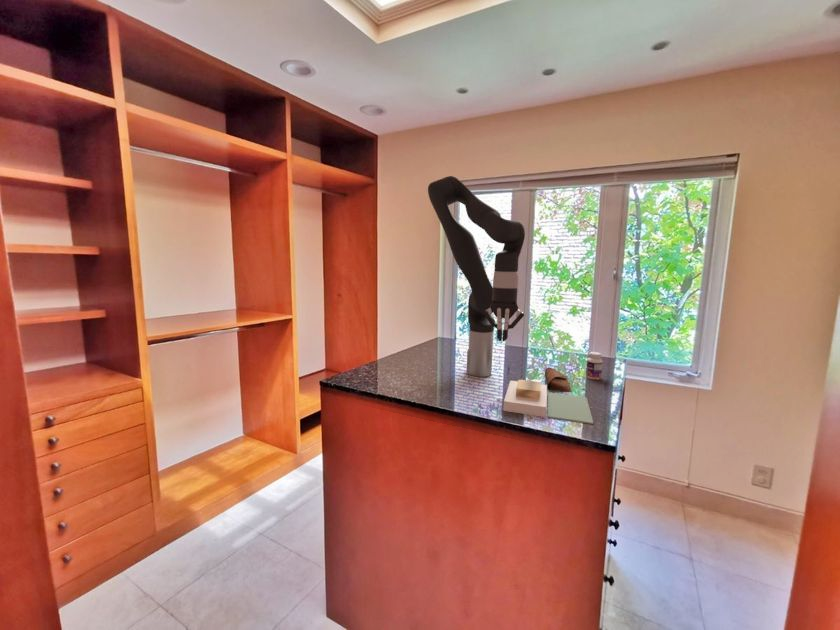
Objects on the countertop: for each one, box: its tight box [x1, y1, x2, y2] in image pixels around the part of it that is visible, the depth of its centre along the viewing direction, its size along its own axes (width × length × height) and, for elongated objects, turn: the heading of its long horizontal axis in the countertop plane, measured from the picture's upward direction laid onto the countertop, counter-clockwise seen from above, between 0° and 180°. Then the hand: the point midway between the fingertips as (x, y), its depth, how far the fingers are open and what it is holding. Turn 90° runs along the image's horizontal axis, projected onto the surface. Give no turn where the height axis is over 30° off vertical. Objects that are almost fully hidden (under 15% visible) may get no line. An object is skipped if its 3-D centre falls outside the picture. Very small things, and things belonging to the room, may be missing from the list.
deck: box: [502, 380, 548, 418], centre depth 118 cm, size 12×20×3 cm, turn 161°
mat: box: [547, 392, 594, 425], centre depth 114 cm, size 12×20×1 cm, turn 161°
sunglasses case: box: [544, 367, 572, 393], centre depth 136 cm, size 18×7×7 cm, turn 165°
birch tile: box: [516, 379, 542, 399], centre depth 117 cm, size 7×9×2 cm
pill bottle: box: [585, 351, 604, 380], centre depth 142 cm, size 5×5×10 cm
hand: (502, 340), depth 118 cm, fingers closed
